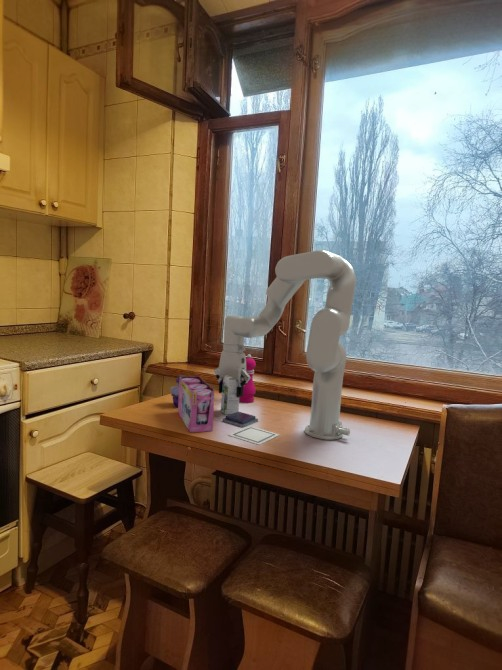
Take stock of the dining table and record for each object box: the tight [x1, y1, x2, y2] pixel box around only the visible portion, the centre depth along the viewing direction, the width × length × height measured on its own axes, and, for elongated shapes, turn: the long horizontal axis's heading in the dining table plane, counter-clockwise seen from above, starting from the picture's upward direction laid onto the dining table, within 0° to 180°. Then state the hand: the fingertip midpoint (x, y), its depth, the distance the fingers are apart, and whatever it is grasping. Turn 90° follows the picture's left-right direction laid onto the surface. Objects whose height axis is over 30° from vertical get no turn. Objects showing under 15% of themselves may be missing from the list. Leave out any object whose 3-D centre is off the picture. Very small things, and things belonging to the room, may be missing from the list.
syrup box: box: [220, 375, 241, 415], centre depth 154 cm, size 6×6×14 cm
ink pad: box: [222, 411, 259, 428], centre depth 144 cm, size 9×9×2 cm
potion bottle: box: [170, 374, 187, 408], centre depth 159 cm, size 9×9×12 cm
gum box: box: [177, 375, 215, 433], centre depth 141 cm, size 24×8×14 cm, turn 20°
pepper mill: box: [239, 353, 257, 404], centre depth 171 cm, size 7×7×20 cm
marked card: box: [228, 425, 280, 446], centre depth 131 cm, size 12×12×1 cm
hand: (230, 394), depth 154 cm, fingers closed on syrup box, 7 cm apart
